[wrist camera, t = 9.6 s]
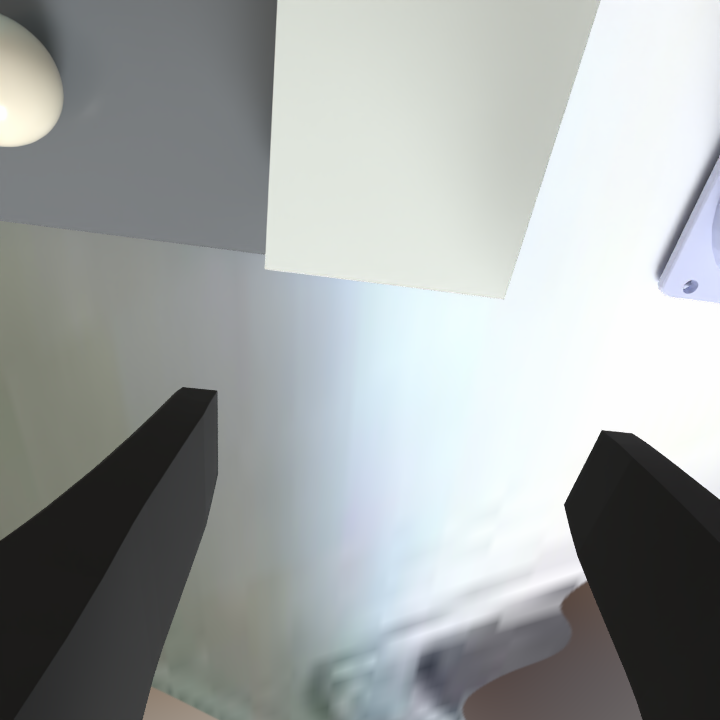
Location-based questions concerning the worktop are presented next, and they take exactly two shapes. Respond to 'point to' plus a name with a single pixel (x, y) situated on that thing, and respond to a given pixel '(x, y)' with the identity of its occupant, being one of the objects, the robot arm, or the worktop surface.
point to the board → (151, 121)
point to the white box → (415, 135)
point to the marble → (26, 86)
